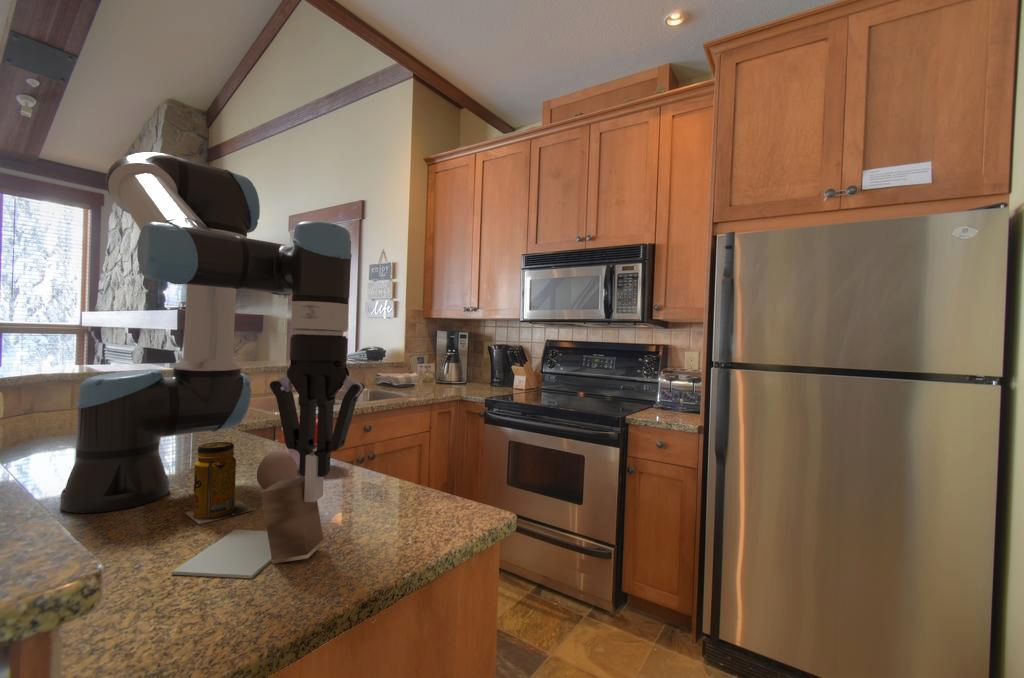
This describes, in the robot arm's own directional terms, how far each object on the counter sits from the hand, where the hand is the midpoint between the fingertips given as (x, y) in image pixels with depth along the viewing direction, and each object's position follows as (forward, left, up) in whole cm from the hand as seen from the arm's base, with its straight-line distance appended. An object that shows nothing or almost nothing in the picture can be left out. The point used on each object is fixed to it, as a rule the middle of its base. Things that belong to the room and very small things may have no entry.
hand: (313, 498), depth 66 cm
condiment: (-23, +14, -9) cm, 28 cm away
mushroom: (-22, +43, -8) cm, 49 cm away
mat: (-10, 0, -8) cm, 13 cm away
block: (-2, 0, -8) cm, 8 cm away
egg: (-19, +25, -9) cm, 32 cm away
